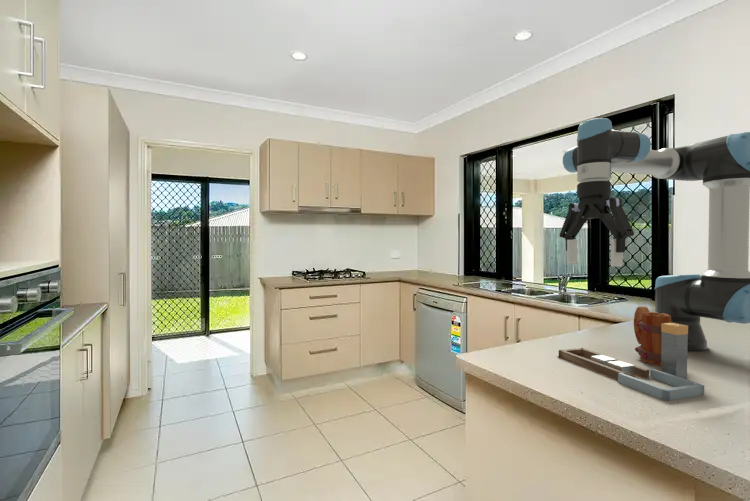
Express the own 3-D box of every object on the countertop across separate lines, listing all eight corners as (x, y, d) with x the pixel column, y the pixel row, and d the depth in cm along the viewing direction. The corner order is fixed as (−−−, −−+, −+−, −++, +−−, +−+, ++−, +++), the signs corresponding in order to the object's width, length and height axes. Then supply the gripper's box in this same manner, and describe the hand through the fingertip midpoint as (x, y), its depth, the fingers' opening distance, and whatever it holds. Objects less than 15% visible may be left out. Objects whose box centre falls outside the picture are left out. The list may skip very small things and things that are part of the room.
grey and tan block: (671, 378, 92) (672, 322, 92) (687, 384, 89) (688, 325, 88) (660, 380, 91) (661, 323, 91) (676, 385, 88) (677, 326, 87)
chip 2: (619, 370, 95) (619, 360, 95) (634, 375, 92) (634, 365, 92) (607, 371, 94) (607, 361, 94) (621, 377, 90) (621, 366, 90)
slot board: (584, 356, 110) (584, 347, 110) (651, 381, 91) (651, 369, 90) (556, 359, 107) (556, 350, 107) (619, 385, 88) (619, 373, 88)
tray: (653, 380, 91) (653, 368, 91) (704, 399, 80) (704, 385, 80) (618, 385, 88) (618, 373, 88) (666, 405, 77) (666, 391, 77)
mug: (682, 371, 97) (683, 314, 97) (647, 369, 99) (648, 313, 98) (652, 355, 111) (653, 305, 111) (622, 353, 113) (623, 304, 113)
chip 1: (602, 364, 100) (602, 354, 100) (616, 368, 96) (616, 359, 96) (590, 365, 99) (590, 356, 99) (603, 370, 95) (604, 360, 95)
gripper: (546, 188, 106) (545, 262, 107) (627, 172, 82) (626, 268, 83) (567, 189, 108) (567, 262, 109) (653, 174, 84) (652, 267, 85)
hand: (592, 264), depth 96 cm, fingers open, 13 cm apart
